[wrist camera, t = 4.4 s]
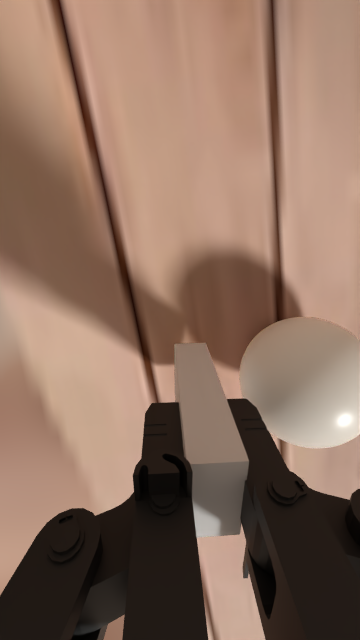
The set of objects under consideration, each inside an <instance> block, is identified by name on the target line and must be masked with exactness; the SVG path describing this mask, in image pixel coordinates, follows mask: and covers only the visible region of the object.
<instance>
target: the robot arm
mask: <svg viewBox="0 0 360 640" xmlns="http://www.w3.org/2000/svg"><path fill="white" fill-rule="evenodd" d="M174 368H175V402H170V403H152V404H151V405H150V407H149V408H148V410H147V411H146V413H145V422H144V434H143V435H144V436H143V446H142V458H141V460H140V461H139V462H138V464H137V465H136V467H135V470H134V473H133V482H134V493H133V494H132V495H131V496H130V498H129V499H127V500H126V501H125V502H124V503H123V504H121V505H119V506H117V507H115V508H113V509H111V510H108V511H106V512H104V513H101V514H99V515H96V516H95V515H94V514H93V513H92V512H90V511H88V510H86V509H84V508H77V509H69V510H67V511H64V512H62V513H59V514H58V515H57V516H55V517H54V518H53V519H51V520H50V521H49V522H47V524H46V525H45V526H44V527H43V529H42V530H41V531H40V532H39V534H38V535H37V536H36V538H35V540H34V541H33V543H32V545H31V546H30V548H29V549H28V551H27V553H26V555H25V556H24V558H23V559H22V561H21V563H20V564H19V566H18V568H17V569H16V571H15V572H14V574H13V576H12V577H11V579H10V581H9V582H8V584H7V586H6V587H5V589H4V591H3V592H2V594H1V595H0V640H103V639H104V635H105V632H106V629H107V625H108V623H110V622H112V621H114V620H115V619H117V618H119V617H121V616H122V615H124V614H125V618H124V629H123V640H208V634H207V625H206V616H205V607H204V599H203V590H202V581H201V572H200V563H199V555H198V546H197V537H211V536H224V535H238V534H240V529H241V523H242V527H243V530H244V534H245V538H246V548H245V555H244V562H243V578H248V573H249V574H250V578H251V582H252V586H253V590H254V594H255V598H256V602H257V606H258V610H259V615H260V619H261V623H262V627H263V631H264V635H265V639H266V640H360V489H358V490H356V491H355V492H354V493H353V494H352V495H351V498H350V500H348V499H344V498H340V497H336V496H332V495H327V494H323V493H320V492H317V491H315V490H312V489H311V488H309V487H308V486H307V485H306V484H305V482H304V481H303V480H302V479H301V478H300V477H298V476H297V475H296V474H294V473H293V472H291V471H289V469H288V468H287V466H286V464H285V462H284V460H283V458H282V456H281V454H280V452H279V450H278V448H277V447H276V445H275V443H274V441H273V439H272V437H271V435H270V433H269V431H268V430H267V427H266V425H265V423H264V421H262V417H261V415H260V413H259V411H258V409H257V407H255V406H254V405H253V404H252V403H251V402H250V401H249V400H248V399H246V398H244V399H226V396H225V394H224V391H223V388H222V386H221V383H220V380H219V377H218V375H217V372H216V369H215V366H214V364H213V361H212V358H211V355H210V353H209V350H208V347H207V345H206V343H178V344H174Z"/></svg>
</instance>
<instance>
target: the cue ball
mask: <svg viewBox="0 0 360 640" xmlns="http://www.w3.org/2000/svg"><path fill="white" fill-rule="evenodd" d="M239 380H240V388H241V392H242V396H243V398H246V399H248V400H249V401H250V402H251V403H252V404H253V405H254V406H255V407H257V409H258V411H259V413H260V415H261V417H262V421H264V423H265V425H266V427H267V430H268V431H269V432H270V433H271V434H272V435H274V436H276V437H278V438H279V439H281V440H283V441H285V442H288V443H291V444H293V445H296V446H301V447H306V448H329V447H334V446H338V445H341V444H344V443H346V442H348V441H350V440H352V439H354V438H355V437H357V436H358V435H359V434H360V340H359V339H358V338H357V337H356V336H355V335H353V334H352V333H351V332H349V331H348V330H346V329H345V328H343V327H341V326H339V325H337V324H335V323H333V322H330V321H327V320H323V319H319V318H313V317H294V318H289V319H284V320H281V321H278V322H276V323H273V324H271V325H269V326H268V327H266V328H264V329H263V330H262V331H261V332H259V333H258V334H257V335H256V336H255V337H254V338H253V340H252V341H251V342H250V343H249V345H248V347H247V348H246V350H245V352H244V355H243V357H242V361H241V365H240V373H239Z"/></svg>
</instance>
